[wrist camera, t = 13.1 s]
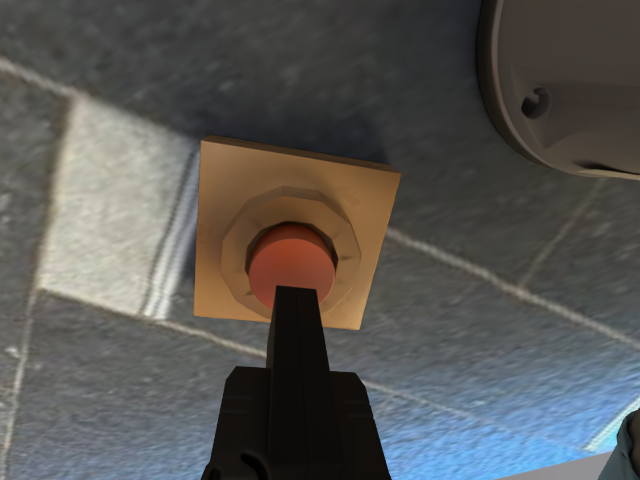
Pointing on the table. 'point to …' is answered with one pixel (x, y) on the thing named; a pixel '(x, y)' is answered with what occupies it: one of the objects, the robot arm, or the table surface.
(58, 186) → the table surface
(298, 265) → the button
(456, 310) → the table surface
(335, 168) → the button block
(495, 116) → the robot arm
